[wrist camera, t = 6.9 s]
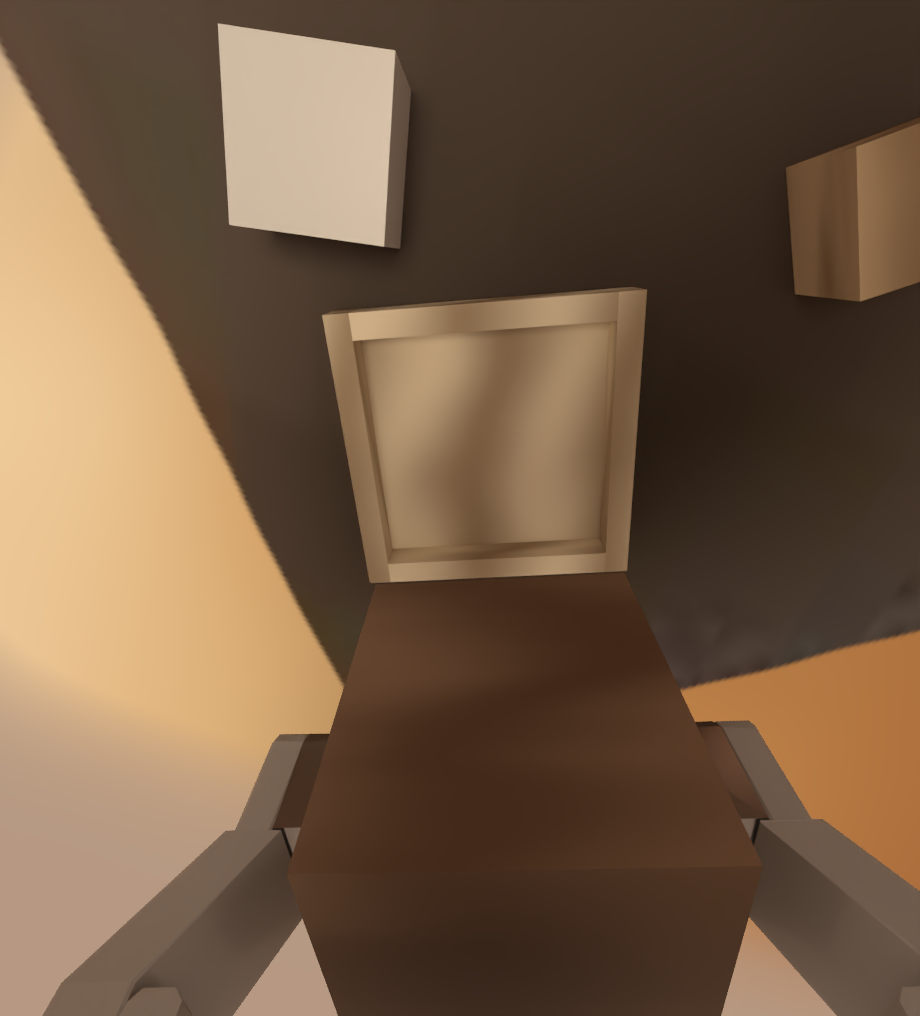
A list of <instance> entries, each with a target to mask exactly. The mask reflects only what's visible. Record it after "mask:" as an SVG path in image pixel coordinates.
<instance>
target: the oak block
mask: <svg viewBox="0 0 920 1016" xmlns="http://www.w3.org/2000/svg"><path fill="white" fill-rule="evenodd" d="M786 178H787V191H788V205H789V218H790V232H791V245H792V259H793V272H794V286H795V294H797V295H806V296H815V297H824V298H833V299H842V300H851V301H864V300H867V299H870V298H873V297H876V296H879V295H882V294H885V293H888V292H891V291H894V290H897V289H900V288H903V287H906V286H909V285H912V284H915V283H918V282H920V117H919V118H916V119H913V120H911V121H908V122H905V123H903V124H900V125H897V126H895V127H892V128H889V129H887V130H884V131H882V132H879V133H876V134H874V135H871V136H868V137H866V138H863V139H860V140H858V141H855V142H852V143H850V144H847V145H844V146H842V147H839V148H837V149H834V150H831V151H829V152H826V153H823V154H821V155H818V156H815V157H813V158H810V159H807V160H805V161H802V162H799V163H797V164H794V165H792V166H789V167H786Z"/></svg>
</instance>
